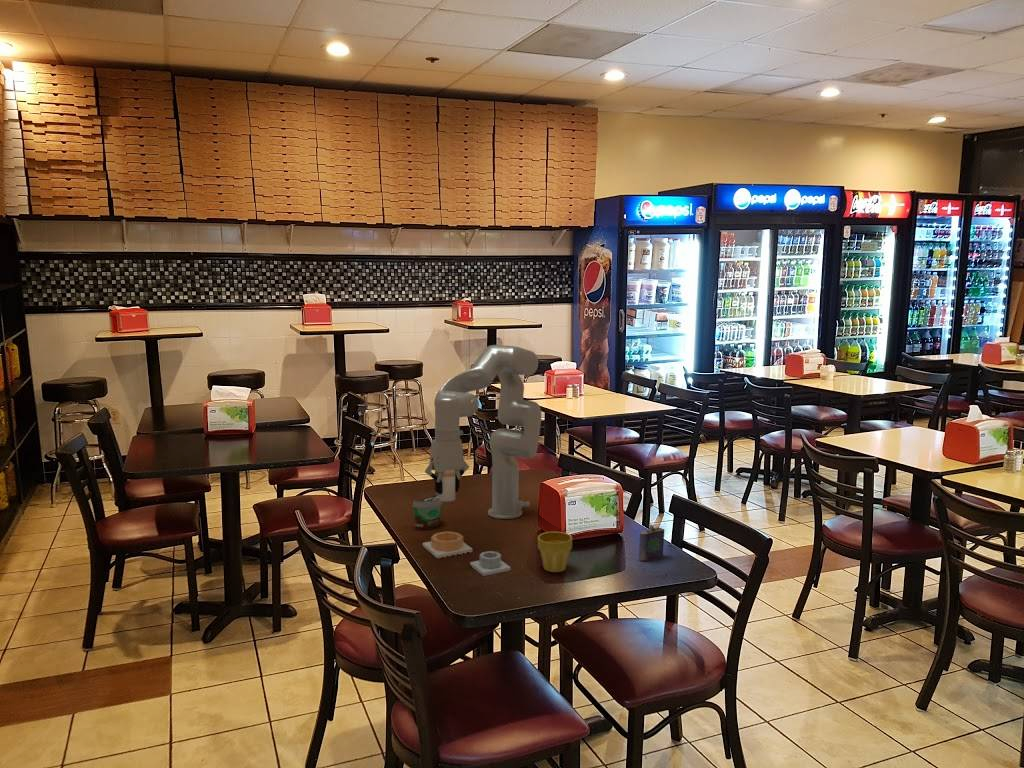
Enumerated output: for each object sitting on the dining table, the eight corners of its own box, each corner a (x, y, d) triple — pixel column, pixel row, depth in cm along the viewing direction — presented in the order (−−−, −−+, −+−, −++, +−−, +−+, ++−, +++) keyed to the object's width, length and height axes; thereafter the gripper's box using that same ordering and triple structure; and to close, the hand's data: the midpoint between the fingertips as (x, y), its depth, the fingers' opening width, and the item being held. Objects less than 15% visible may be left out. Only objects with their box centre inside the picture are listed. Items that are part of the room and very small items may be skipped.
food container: (425, 533, 253) (425, 504, 252) (412, 529, 257) (412, 500, 255) (450, 523, 263) (450, 496, 261) (437, 519, 266) (437, 492, 265)
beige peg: (451, 495, 240) (451, 465, 238) (458, 500, 235) (458, 469, 234) (436, 497, 237) (436, 467, 236) (443, 502, 233) (443, 471, 231)
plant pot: (536, 561, 230) (537, 530, 228) (570, 561, 230) (571, 531, 228) (537, 574, 219) (538, 542, 218) (573, 575, 219) (573, 543, 218)
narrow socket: (496, 560, 230) (496, 547, 229) (510, 570, 222) (510, 557, 222) (470, 565, 226) (470, 552, 225) (483, 576, 218) (483, 563, 217)
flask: (642, 562, 230) (643, 528, 228) (636, 559, 232) (637, 525, 231) (665, 557, 235) (666, 524, 233) (658, 554, 237) (660, 521, 235)
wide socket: (456, 539, 247) (456, 528, 246) (472, 551, 237) (472, 539, 236) (422, 545, 241) (422, 534, 241) (437, 558, 231) (437, 546, 230)
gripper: (466, 430, 241) (466, 485, 243) (417, 435, 232) (417, 492, 235) (477, 435, 234) (476, 491, 237) (426, 440, 226) (426, 498, 229)
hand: (447, 491), depth 236 cm, fingers closed on beige peg, 5 cm apart
